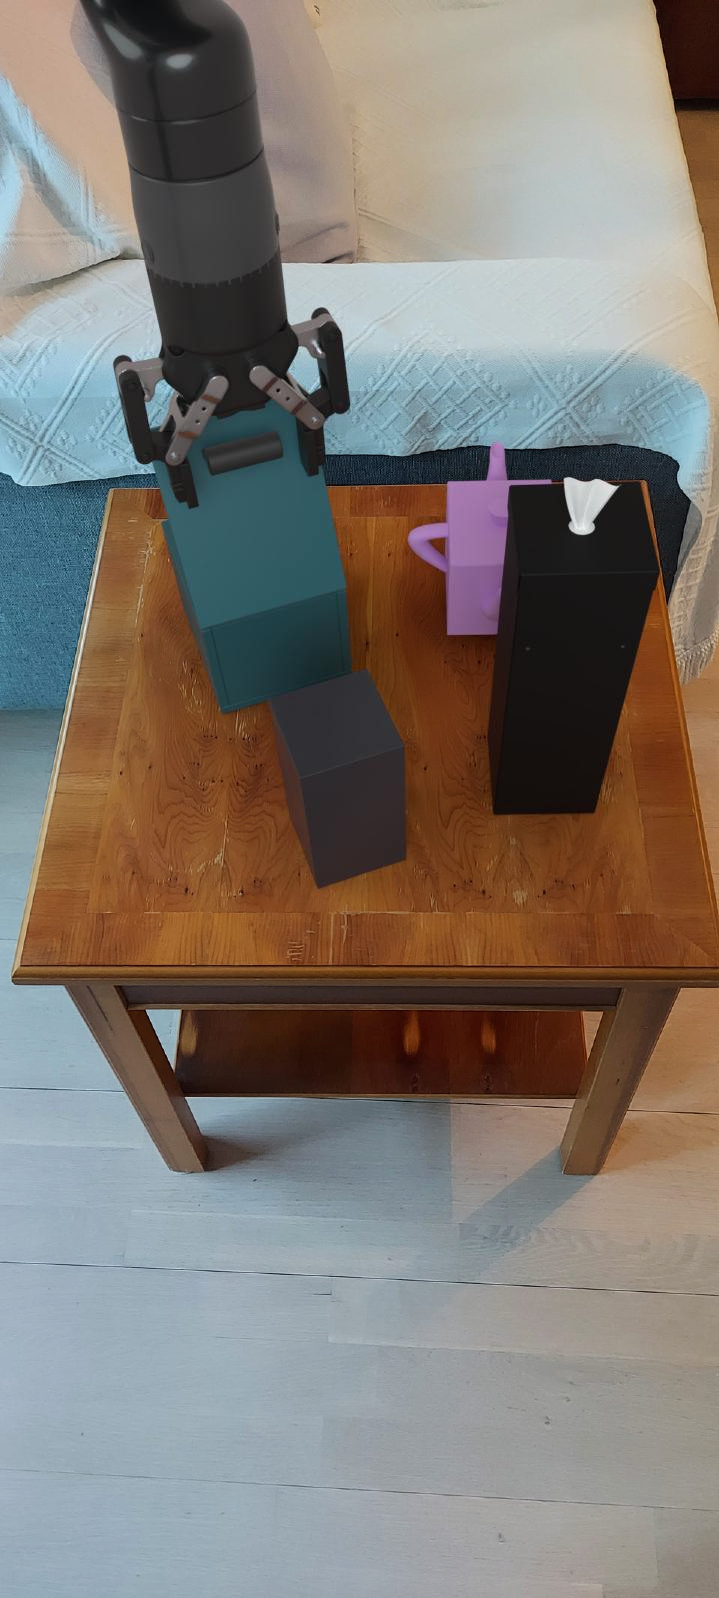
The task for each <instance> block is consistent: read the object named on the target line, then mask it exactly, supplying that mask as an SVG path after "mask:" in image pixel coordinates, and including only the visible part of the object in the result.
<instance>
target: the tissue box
mask: <svg viewBox="0 0 719 1598" xmlns="http://www.w3.org/2000/svg"><path fill="white" fill-rule="evenodd" d="M645 501H646V500H645V497H644V492H643V488H642V483H641V481H640V480H633V481H631V480H630V481H605V480H602V479H599V478H595V479H593V480H590V481H582V480H578V479H576V478H574V477H568V476H567V477H564V478H563V483H552V484H528V485H510V486H509V493H508V504H507V509H508V523H507V534H506V544H505V555H504V566H503V576H502V587H501V597H500V608H499V619H498V629H497V634H496V642H495V653H494V661H493V662H494V663H493V672H492V675H493V676H492V684H491V695H490V705H489V713H488V714H489V716H488V726H487V735H486V736H487V751H488V760H489V761H488V765H489V776H490V777H489V779H490V791H491V801H492V802H491V803H492V814H493V815H494V816H503V815H504V816H507V815H511V816H512V815H514V816H515V815H516V816H517V815H570V814H571V815H575V814H578V815H581V814H595V813H596V810H597V806H598V803H599V800H600V799H599V798H600V795H601V791H602V789H603V784H604V780H605V776H606V773H607V768H608V765H609V761H610V758H611V753H612V750H613V746H614V742H615V738H616V736H617V731H618V728H619V727H618V726H619V723H620V719H621V716H622V712H623V709H624V704H625V701H626V696H627V694H628V689H629V685H630V682H631V678H632V674H633V670H634V666H635V662H636V658H637V655H638V651H639V648H640V644H641V640H642V636H643V632H644V628H645V624H646V622H647V617H648V613H649V610H650V606H651V602H652V598H653V594H654V591H656V589H657V585H658V581H659V577H660V574H661V568H660V564H659V563H660V562H659V559H658V554H657V551H656V550H657V549H656V546H655V542H654V537H653V533H652V528H651V524H650V520H649V515H648V514H649V513H648V511H647V507H646V502H645Z"/></svg>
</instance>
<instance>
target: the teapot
mask: <svg viewBox="0 0 719 1598" xmlns="http://www.w3.org/2000/svg"><path fill="white" fill-rule="evenodd" d="M487 472H488V473H487V476H486V480H461V481H459V480H458V481H457V480H456V481H454V480H453V481H452V480H449V481H447V482H446V483H447V484H446V488H447V489H446V509H445V510H446V513H445V514H446V515H445V522H437V523H429V524H424V525H421V526H418V527H415V528H413V529H412V530H411V531H410V532H409V534H408V537H407V541H408V542H407V543H408V545H409V547H410V548H411V550H412V551H413V552H414V553H415V554H416V555H417V556H418V557H419V558H421V560H423V561H425V562H426V563H428V564H429V565H431V566H433V567H435V568H436V569H438V570H439V571H442V572H443V573H444V574H445V604H446V636H461V635H462V636H468V635H469V636H471V635H475V636H476V635H477V636H478V635H479V636H480V635H488V636H489V635H497V629H498V619H499V608H500V597H501V587H502V576H503V566H504V555H505V544H506V534H507V523H508V509H507V504H508V493H509V486H510V485H528V484H553V482H552V479H510V480H509V479H508V475H507V467H506V451H505V448H504V445H503V443H502V442H500V441H494V442H493V443H491V446H490V450H489V465H488V471H487ZM435 539H445V544H444V548H445V549H444V550H445V551H444V555H443V554H442V553H440V551H438V550H436V548H434V546H433V545H432V544H431V543H430V541H431V540H435Z"/></svg>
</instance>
